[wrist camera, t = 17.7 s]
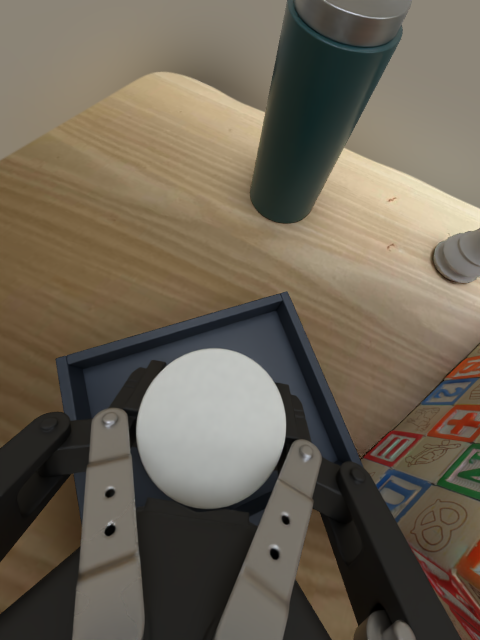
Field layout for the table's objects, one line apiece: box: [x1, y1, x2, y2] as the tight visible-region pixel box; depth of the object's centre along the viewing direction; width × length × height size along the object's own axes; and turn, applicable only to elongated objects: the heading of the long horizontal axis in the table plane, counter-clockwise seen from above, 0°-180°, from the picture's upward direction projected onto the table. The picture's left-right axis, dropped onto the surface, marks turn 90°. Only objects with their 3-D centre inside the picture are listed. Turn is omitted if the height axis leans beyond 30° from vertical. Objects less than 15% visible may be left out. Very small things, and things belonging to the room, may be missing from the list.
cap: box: [136, 348, 286, 509], centre depth 13 cm, size 6×6×5 cm
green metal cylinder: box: [250, 0, 412, 223], centre depth 18 cm, size 6×6×13 cm
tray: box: [56, 291, 364, 526], centre depth 16 cm, size 15×12×2 cm
